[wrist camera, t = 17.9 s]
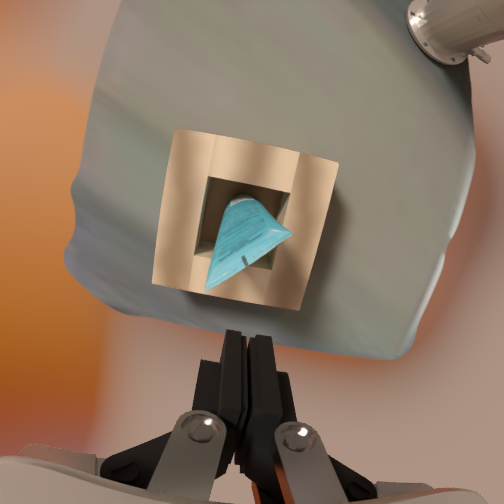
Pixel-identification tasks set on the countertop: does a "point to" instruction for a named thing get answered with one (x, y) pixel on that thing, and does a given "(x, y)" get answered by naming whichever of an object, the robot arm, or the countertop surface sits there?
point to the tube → (243, 238)
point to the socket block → (213, 206)
